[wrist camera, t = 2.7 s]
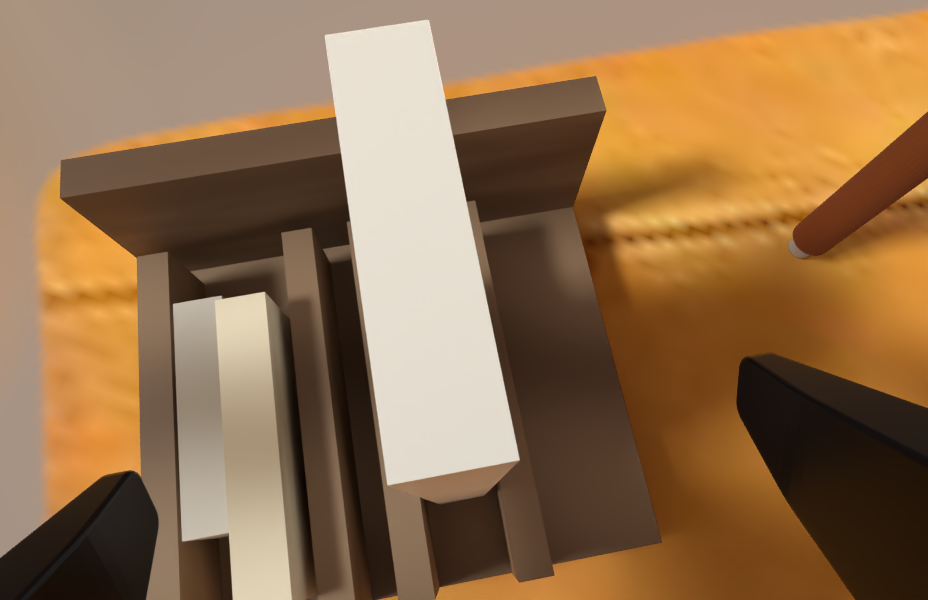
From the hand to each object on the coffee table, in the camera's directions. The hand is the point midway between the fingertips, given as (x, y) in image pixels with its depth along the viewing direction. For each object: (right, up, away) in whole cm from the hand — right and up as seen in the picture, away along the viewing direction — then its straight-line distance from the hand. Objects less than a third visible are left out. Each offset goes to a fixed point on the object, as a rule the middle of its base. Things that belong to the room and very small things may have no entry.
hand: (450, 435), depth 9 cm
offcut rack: (-2, -1, +10) cm, 10 cm away
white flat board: (0, -1, +8) cm, 9 cm away
